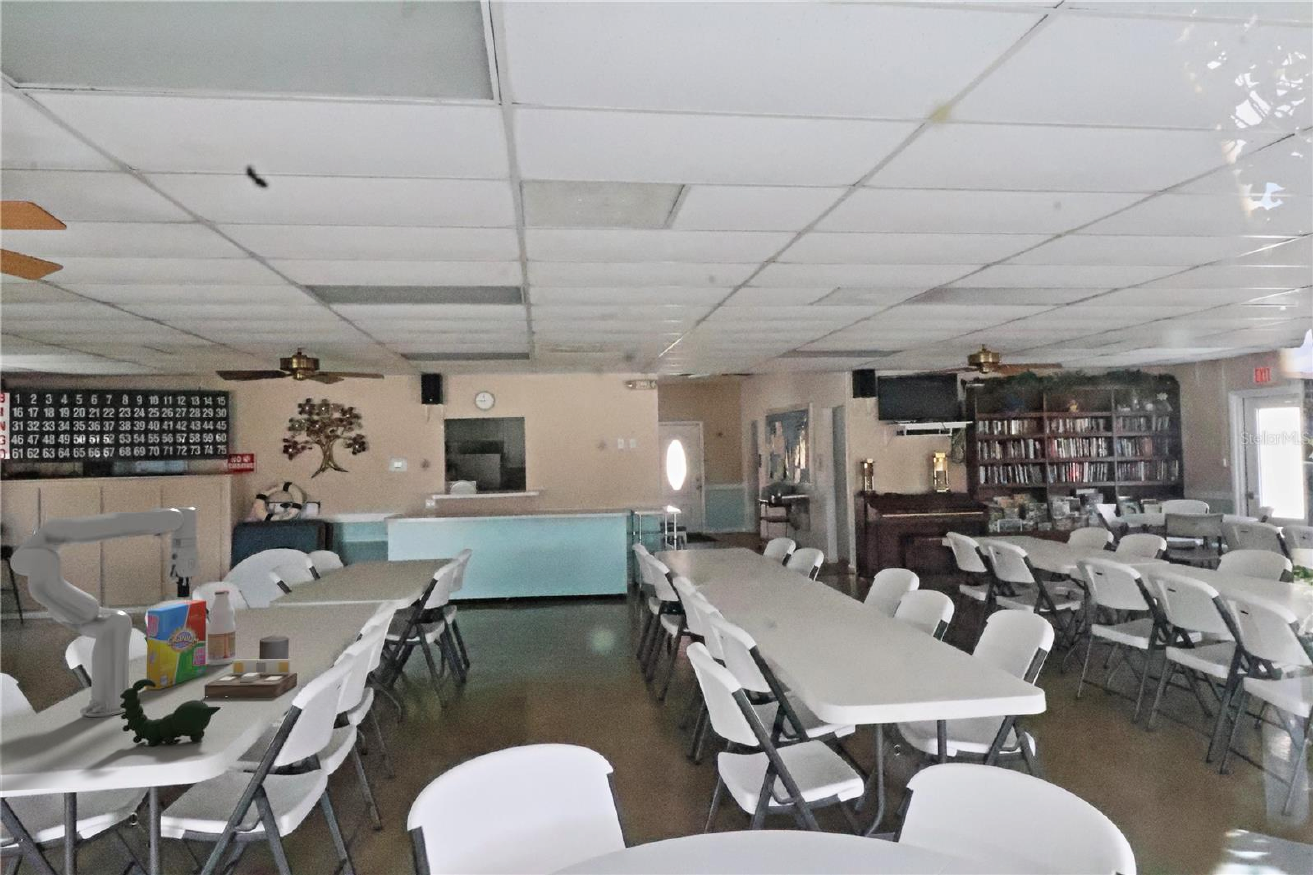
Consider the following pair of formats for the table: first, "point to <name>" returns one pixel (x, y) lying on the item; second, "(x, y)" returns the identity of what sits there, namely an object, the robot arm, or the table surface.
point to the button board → (251, 686)
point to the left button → (227, 679)
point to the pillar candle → (274, 647)
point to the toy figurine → (165, 718)
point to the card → (261, 666)
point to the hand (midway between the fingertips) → (183, 596)
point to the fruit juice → (221, 630)
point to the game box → (176, 643)
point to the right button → (273, 678)
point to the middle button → (250, 677)
